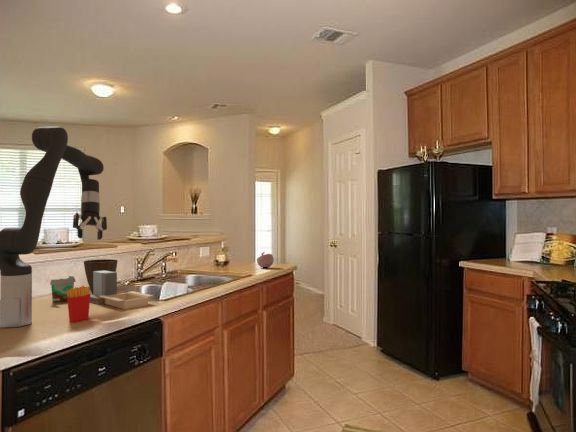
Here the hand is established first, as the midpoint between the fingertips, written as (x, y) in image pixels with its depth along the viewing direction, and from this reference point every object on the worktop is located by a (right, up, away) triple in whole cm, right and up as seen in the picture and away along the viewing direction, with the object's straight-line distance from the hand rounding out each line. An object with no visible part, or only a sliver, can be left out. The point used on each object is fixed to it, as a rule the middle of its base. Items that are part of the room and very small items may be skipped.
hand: (90, 238), depth 194 cm
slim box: (+8, -24, -3) cm, 26 cm away
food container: (-11, -27, +1) cm, 30 cm away
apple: (+71, -27, +120) cm, 142 cm away
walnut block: (+8, -27, -3) cm, 28 cm away
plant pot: (-2, -27, +17) cm, 32 cm away
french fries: (+12, -27, -36) cm, 47 cm away
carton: (+20, -27, -12) cm, 36 cm away
